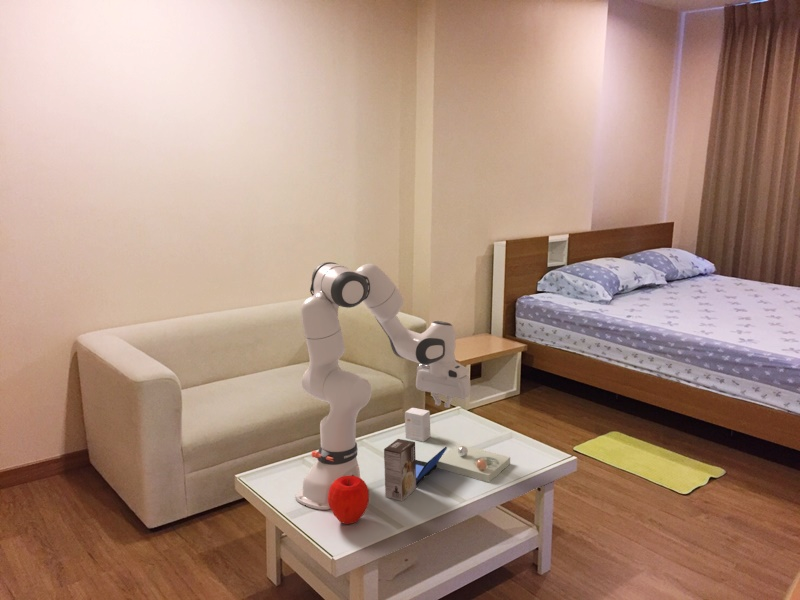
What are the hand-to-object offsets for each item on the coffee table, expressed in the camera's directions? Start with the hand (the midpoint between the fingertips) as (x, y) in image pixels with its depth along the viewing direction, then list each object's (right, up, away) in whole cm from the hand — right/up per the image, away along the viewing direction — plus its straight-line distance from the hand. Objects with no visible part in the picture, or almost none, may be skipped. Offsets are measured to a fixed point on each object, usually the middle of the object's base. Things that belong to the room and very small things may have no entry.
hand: (442, 406), depth 221 cm
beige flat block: (+10, -20, -3) cm, 23 cm away
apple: (-29, -27, -37) cm, 54 cm away
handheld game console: (-8, -22, -9) cm, 25 cm away
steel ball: (+7, -15, -2) cm, 17 cm away
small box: (-8, -16, +21) cm, 28 cm away
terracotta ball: (+12, -17, -12) cm, 24 cm away
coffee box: (-15, -24, -21) cm, 35 cm away
